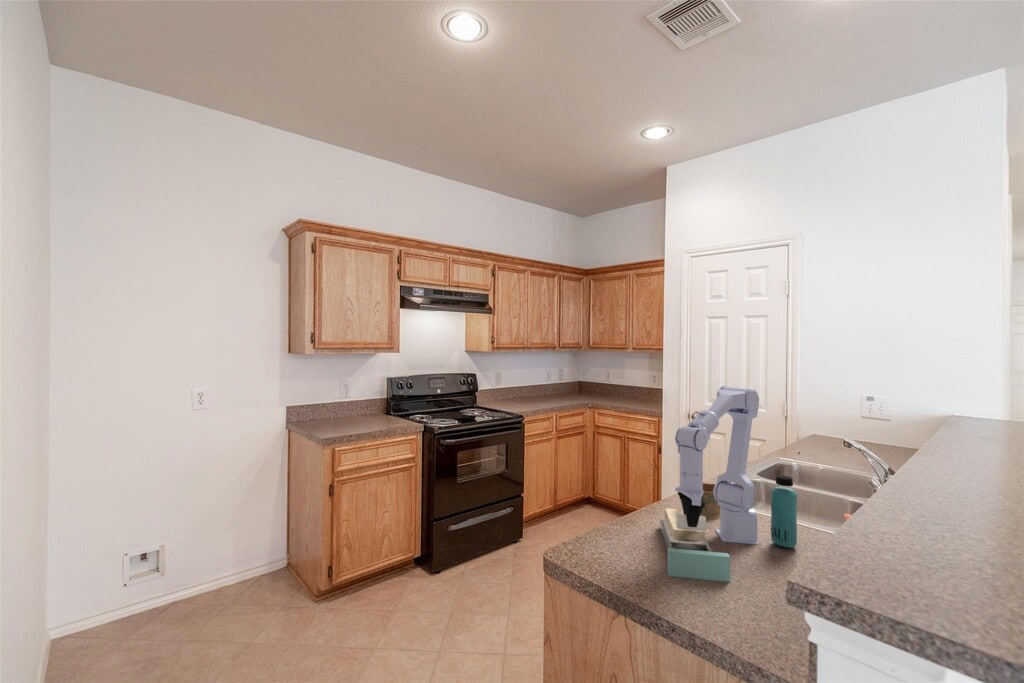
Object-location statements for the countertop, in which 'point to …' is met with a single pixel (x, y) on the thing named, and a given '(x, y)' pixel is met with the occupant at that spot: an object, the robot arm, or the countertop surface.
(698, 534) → the slab
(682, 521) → the roller
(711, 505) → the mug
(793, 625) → the countertop surface
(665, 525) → the roller track
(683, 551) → the rail
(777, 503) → the beverage bottle
